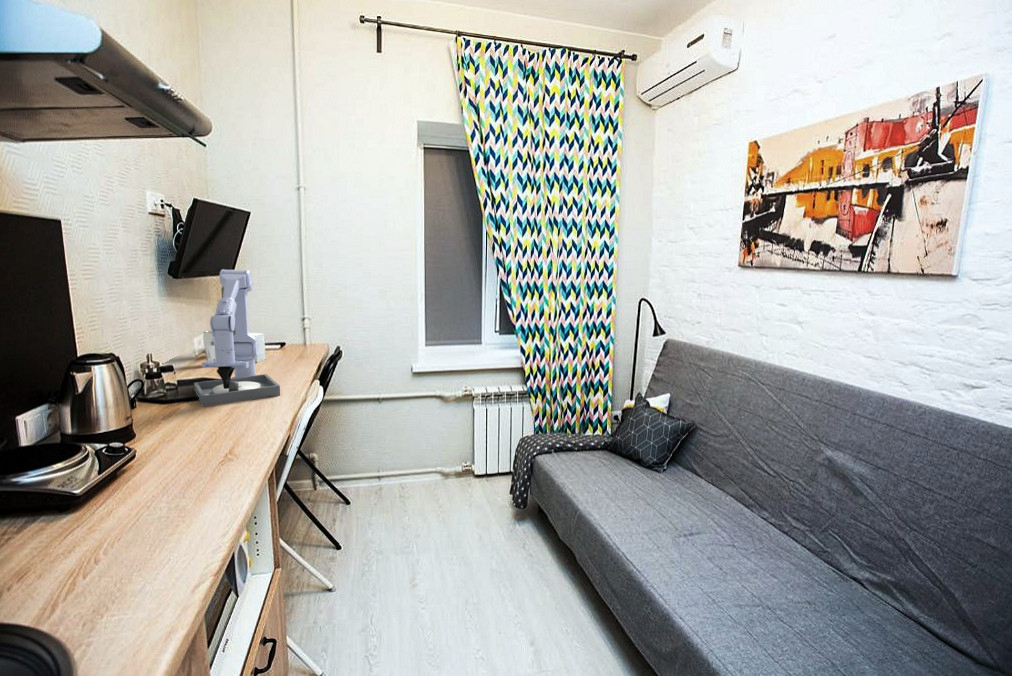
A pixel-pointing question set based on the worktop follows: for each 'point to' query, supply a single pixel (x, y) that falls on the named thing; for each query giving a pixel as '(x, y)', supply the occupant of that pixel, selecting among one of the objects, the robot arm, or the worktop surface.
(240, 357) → the robot arm
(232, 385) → the dial
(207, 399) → the bezel plate
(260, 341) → the supplement box
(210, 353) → the beer glass
